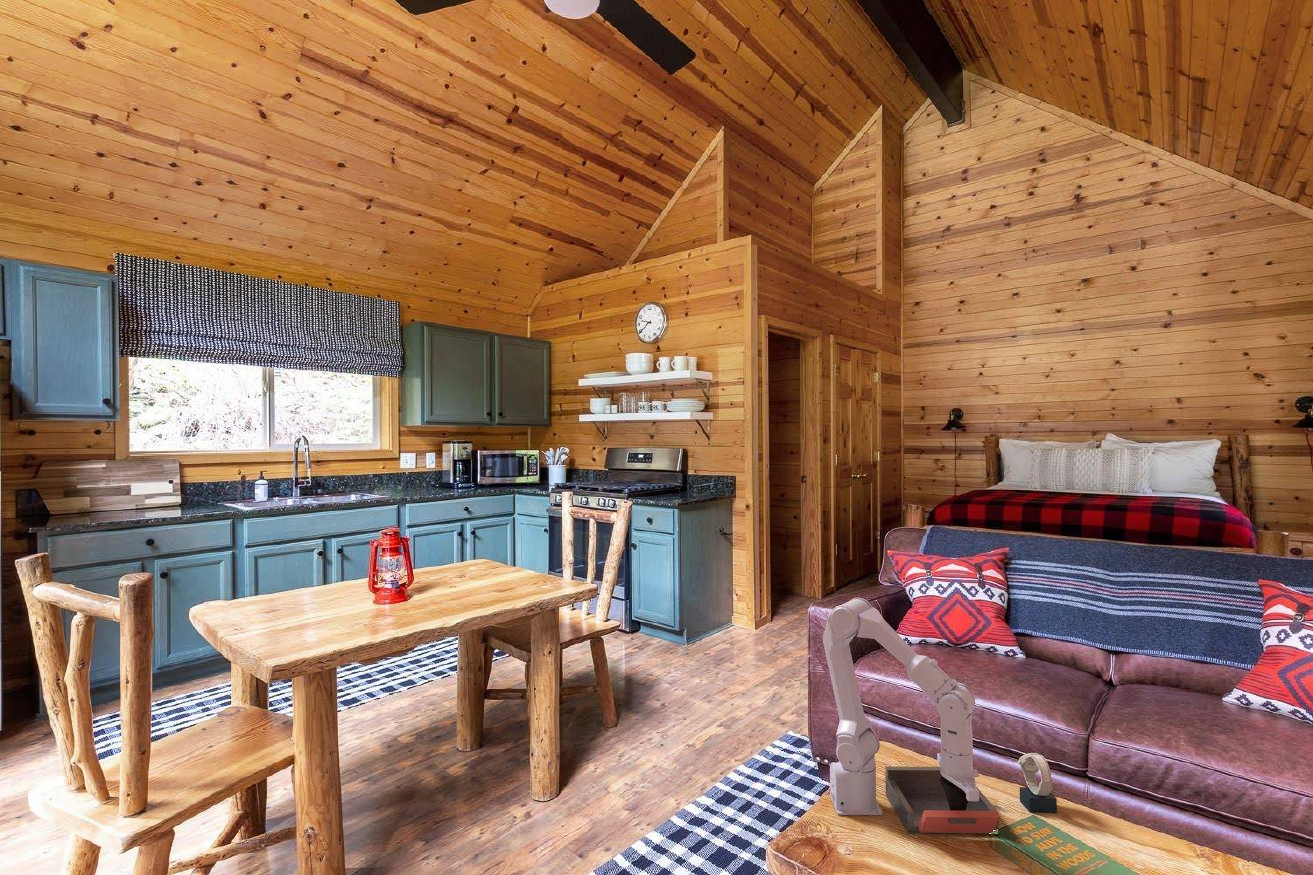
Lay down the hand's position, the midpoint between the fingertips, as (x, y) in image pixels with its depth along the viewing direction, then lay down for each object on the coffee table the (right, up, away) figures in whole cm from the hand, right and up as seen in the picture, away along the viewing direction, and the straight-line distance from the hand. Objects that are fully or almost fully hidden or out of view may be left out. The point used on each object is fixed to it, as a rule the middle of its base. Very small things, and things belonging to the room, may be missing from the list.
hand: (957, 817), depth 128 cm
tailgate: (0, -3, +1) cm, 3 cm away
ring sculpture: (+22, -5, +11) cm, 26 cm away
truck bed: (0, -5, +9) cm, 10 cm away
